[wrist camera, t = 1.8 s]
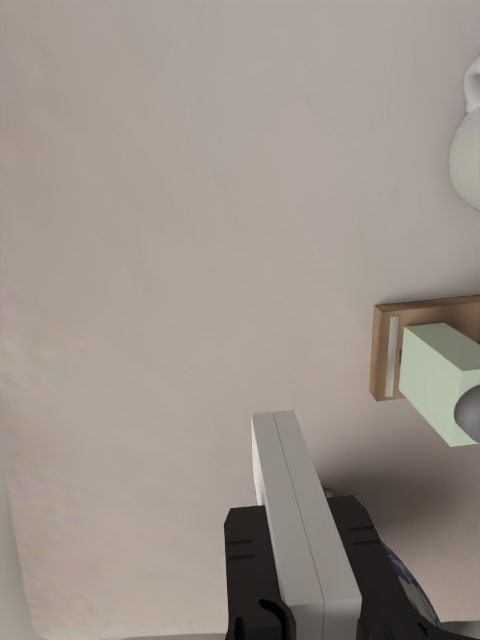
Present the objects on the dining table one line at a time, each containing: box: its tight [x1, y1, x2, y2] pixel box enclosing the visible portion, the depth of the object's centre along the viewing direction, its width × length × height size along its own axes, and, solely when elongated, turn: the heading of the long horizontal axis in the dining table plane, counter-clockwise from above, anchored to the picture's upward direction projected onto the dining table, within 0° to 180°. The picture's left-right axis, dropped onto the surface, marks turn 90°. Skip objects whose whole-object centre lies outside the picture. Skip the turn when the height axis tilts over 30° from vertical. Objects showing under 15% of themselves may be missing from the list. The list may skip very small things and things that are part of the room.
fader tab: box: [399, 323, 480, 447], centre depth 34 cm, size 4×7×11 cm, turn 4°
